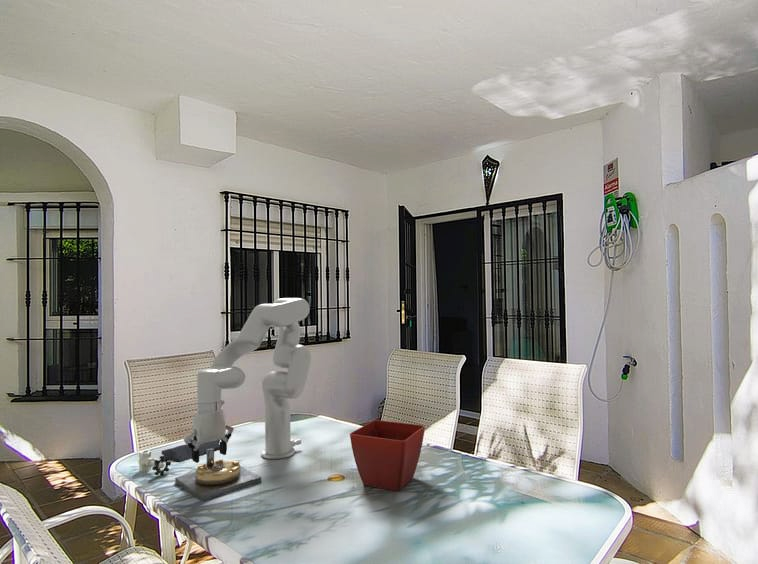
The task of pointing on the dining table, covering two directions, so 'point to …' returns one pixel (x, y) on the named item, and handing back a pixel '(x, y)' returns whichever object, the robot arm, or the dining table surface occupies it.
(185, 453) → the dark slate chunk
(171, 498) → the dining table surface
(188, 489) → the housing
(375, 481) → the plant pot
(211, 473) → the brass crank wheel
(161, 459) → the valve
